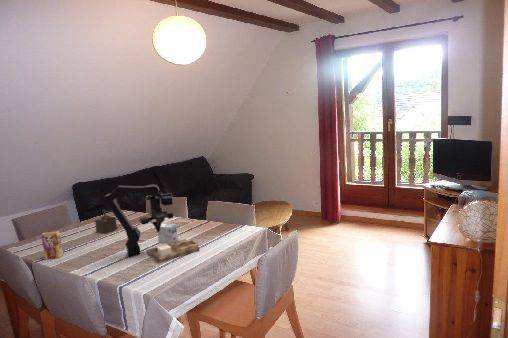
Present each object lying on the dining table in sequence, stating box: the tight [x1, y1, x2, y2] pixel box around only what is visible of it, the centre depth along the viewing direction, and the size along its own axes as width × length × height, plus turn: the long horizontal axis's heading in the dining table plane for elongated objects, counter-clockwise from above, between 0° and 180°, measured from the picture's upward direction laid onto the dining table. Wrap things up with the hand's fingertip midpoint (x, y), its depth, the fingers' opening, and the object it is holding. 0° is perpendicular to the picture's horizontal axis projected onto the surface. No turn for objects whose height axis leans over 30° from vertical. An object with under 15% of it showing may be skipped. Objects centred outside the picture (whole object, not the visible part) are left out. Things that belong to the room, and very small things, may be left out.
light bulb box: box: [156, 223, 179, 244], centre depth 227 cm, size 11×7×11 cm, turn 74°
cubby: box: [173, 239, 199, 253], centre depth 210 cm, size 12×10×2 cm
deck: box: [145, 238, 200, 264], centre depth 209 cm, size 25×19×4 cm
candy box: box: [40, 231, 64, 260], centre depth 213 cm, size 9×4×15 cm, turn 96°
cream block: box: [156, 243, 172, 257], centre depth 202 cm, size 6×6×4 cm
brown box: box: [94, 204, 121, 235], centre depth 258 cm, size 16×11×18 cm
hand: (158, 231), depth 211 cm, fingers closed
